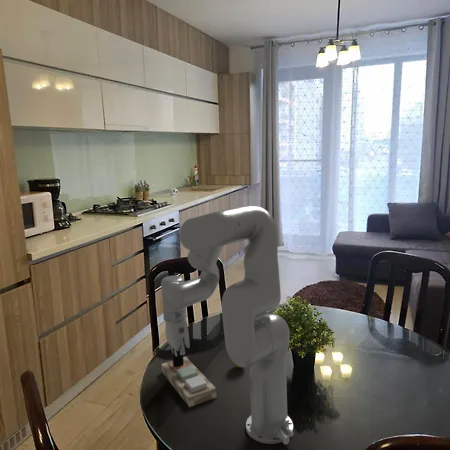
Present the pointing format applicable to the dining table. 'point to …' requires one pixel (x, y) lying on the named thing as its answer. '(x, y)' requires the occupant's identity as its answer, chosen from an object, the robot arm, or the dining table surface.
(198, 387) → the offwhite button
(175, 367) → the terracotta button
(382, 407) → the dining table surface
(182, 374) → the sage button
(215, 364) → the dining table surface
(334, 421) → the dining table surface
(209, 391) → the button board
